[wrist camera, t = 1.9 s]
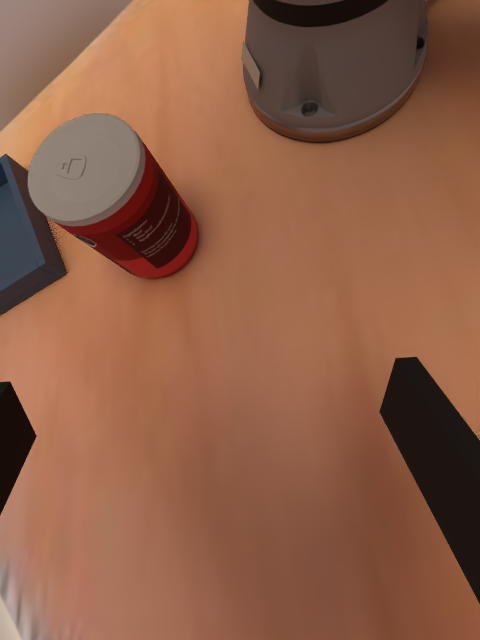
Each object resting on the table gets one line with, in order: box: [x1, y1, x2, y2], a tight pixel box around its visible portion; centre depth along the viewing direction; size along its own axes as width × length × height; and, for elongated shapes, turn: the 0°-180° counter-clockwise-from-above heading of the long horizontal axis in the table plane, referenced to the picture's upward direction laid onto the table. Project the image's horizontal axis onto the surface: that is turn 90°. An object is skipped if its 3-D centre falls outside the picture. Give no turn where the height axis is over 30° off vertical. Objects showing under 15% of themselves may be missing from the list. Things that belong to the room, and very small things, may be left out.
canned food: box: [28, 113, 198, 278], centre depth 28 cm, size 8×8×11 cm
